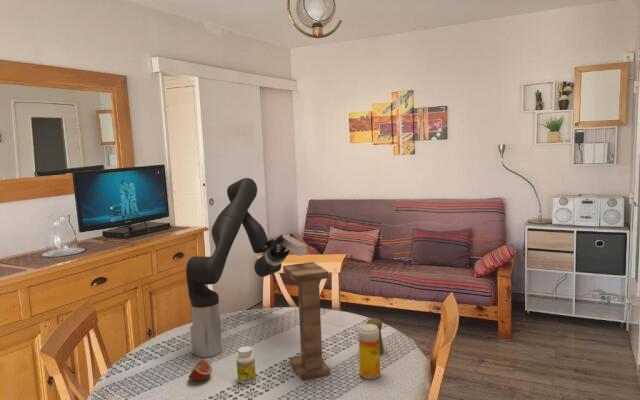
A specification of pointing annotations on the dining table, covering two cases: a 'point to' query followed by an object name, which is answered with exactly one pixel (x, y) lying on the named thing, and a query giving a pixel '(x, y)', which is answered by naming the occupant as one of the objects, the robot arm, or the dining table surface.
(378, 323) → the cork
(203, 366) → the fruit slice
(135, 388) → the dining table surface
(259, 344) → the dining table surface
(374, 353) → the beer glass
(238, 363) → the supplement bottle
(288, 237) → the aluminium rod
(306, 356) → the walnut stand
